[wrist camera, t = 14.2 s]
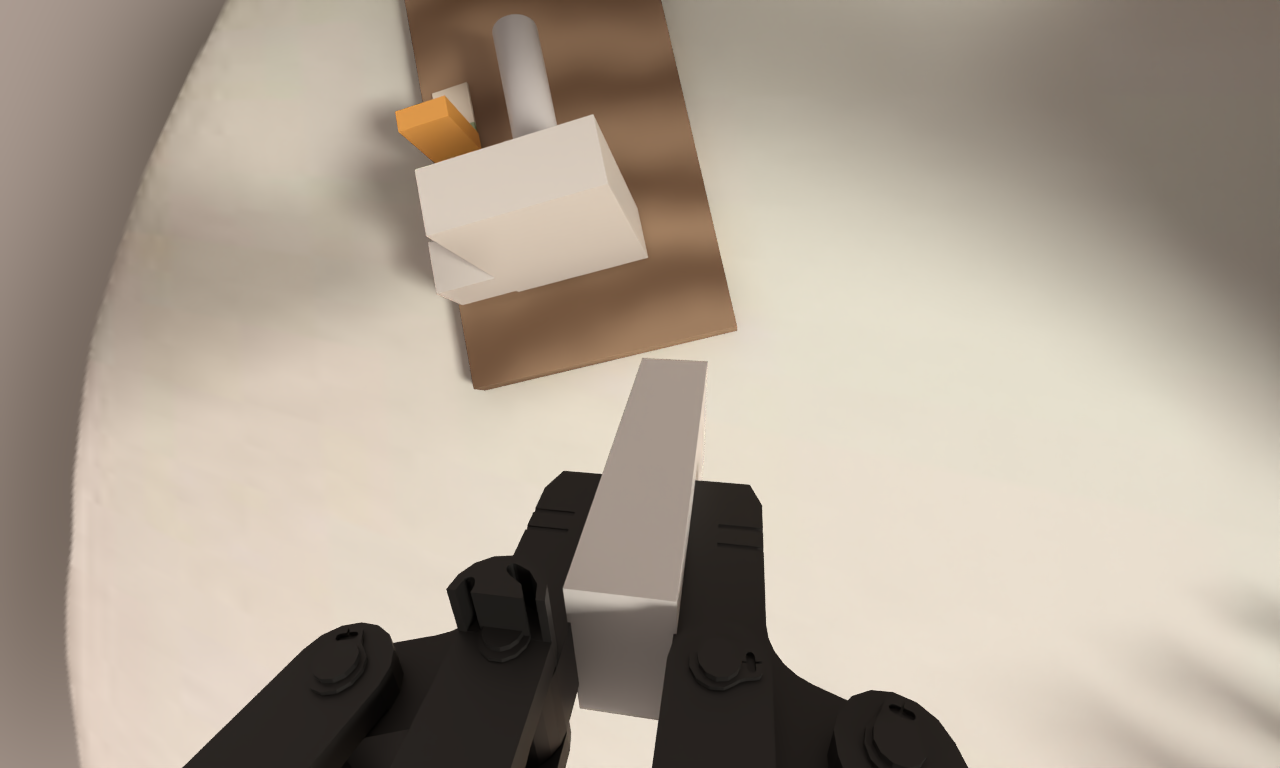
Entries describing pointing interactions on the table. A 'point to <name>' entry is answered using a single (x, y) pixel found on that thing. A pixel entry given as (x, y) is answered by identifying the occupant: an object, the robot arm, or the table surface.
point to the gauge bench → (645, 154)
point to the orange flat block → (438, 129)
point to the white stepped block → (527, 192)
